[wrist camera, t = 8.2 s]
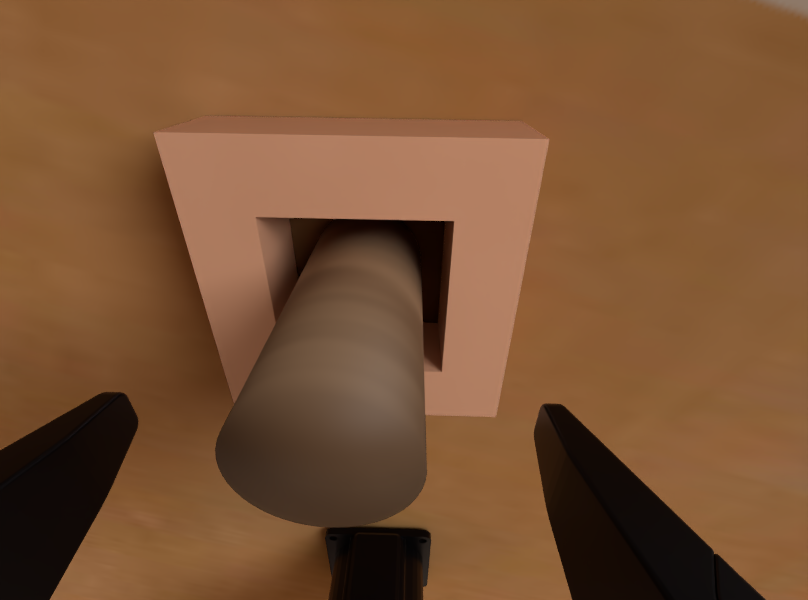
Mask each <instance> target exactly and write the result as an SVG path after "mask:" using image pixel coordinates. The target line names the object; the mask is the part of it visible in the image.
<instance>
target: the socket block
mask: <svg viewBox="0 0 808 600" xmlns="http://www.w3.org/2000/svg"><path fill="white" fill-rule="evenodd" d="M153 133H154V136H155V140H156V143H157V147H158V150H159V153H160V157H161V160H162V163H163V167H164V170H165V173H166V177H167V180H168V184H169V187H170V190H171V194H172V197H173V200H174V204H175V207H176V211H177V214H178V217H179V221H180V224H181V227H182V231H183V234H184V237H185V241H186V244H187V248H188V251H189V254H190V258H191V261H192V264H193V268H194V271H195V275H196V278H197V281H198V285H199V288H200V291H201V295H202V298H203V302H204V305H205V308H206V312H207V315H208V318H209V322H210V325H211V328H212V332H213V335H214V339H215V342H216V345H217V349H218V352H219V355H220V359H221V362H222V366H223V369H224V372H225V376H226V379H227V382H228V386H229V389H230V392H231V396H232V399H233V403H234V404H235V402H236V400H237V398H238V396H239V394H240V392H241V390H242V388H243V386H244V384H245V382H246V380H247V378H248V376H249V375H250V373H251V371H252V369H253V367H254V365H255V363H256V361H257V359H258V357H259V355H260V353H261V351H262V349H263V347H264V345H265V343H266V341H267V339H268V338H269V336H270V334H271V332H272V330H273V328H274V326H275V324H276V322H277V320H278V318H279V316H280V314H281V312H282V310H283V308H284V306H285V304H286V302H287V301H288V299H289V297H290V295H291V293H292V291H293V289H294V287H295V285H296V283H297V281H298V274H297V268H296V261H295V254H294V247H293V240H292V233H291V226H290V219H289V218H327V219H377V220H426V221H445V228H444V242H443V256H442V271H441V285H440V299H439V314H438V323H423V349H424V386H425V415H445V416H482V417H496V414H497V409H498V404H499V399H500V393H501V388H502V383H503V378H504V373H505V367H506V362H507V357H508V352H509V347H510V341H511V336H512V331H513V326H514V321H515V315H516V310H517V305H518V300H519V295H520V289H521V284H522V279H523V274H524V269H525V263H526V258H527V253H528V248H529V243H530V237H531V232H532V227H533V222H534V217H535V211H536V206H537V201H538V196H539V190H540V185H541V180H542V175H543V170H544V164H545V159H546V154H547V149H548V144H549V139H548V138H547V137H545V136H544V135H542V134H541V133H539V132H538V131H536V130H535V129H533V128H532V127H530V126H529V125H527V124H526V123H524V122H523V121H486V120H427V119H368V118H309V117H251V116H203V117H200V118H197V119H194V120H190V121H187V122H184V123H181V124H178V125H174V126H171V127H168V128H165V129H162V130H159V131H155V132H153Z"/></svg>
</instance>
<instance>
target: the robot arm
mask: <svg viewBox="0 0 808 600" xmlns="http://www.w3.org/2000/svg"><path fill="white" fill-rule="evenodd" d="M137 428H138V417H137V415H136V413H135V411H134V409H133V407H132V405H131V403H130V401H129V399H128V397H127V395H126V394H124V393H121V392H104V393H101V394H99V395H97V396H95V397H93V398H92V399H90V400H88V401H86V402H85V403H83V404H81V405H79V406H78V407H76V408H74V409H72V410H70V411H69V412H67V413H65V414H63V415H62V416H60V417H58V418H56V419H55V420H53V421H51V422H49V423H48V424H46V425H44V426H42V427H41V428H39V429H37V430H35V431H34V432H32V433H30V434H28V435H26V436H25V437H23V438H21V439H19V440H18V441H16V442H14V443H12V444H11V445H9V446H7V447H5V448H4V449H2V450H0V600H50V598H51V596H52V594H53V593H54V591H55V589H56V587H57V585H58V584H59V582H60V580H61V578H62V577H63V575H64V573H65V571H66V569H67V568H68V566H69V564H70V562H71V561H72V559H73V557H74V555H75V553H76V552H77V550H78V548H79V546H80V544H81V543H82V541H83V539H84V537H85V536H86V534H87V532H88V530H89V528H90V527H91V525H92V523H93V521H94V520H95V518H96V516H97V514H98V512H99V511H100V509H101V507H102V505H103V503H104V501H105V499H106V498H107V495H108V493H109V491H110V489H111V487H112V485H113V483H114V480H115V478H116V476H117V474H118V471H119V469H120V467H121V465H122V462H123V460H124V458H125V456H126V453H127V451H128V449H129V446H130V444H131V442H132V440H133V437H134V435H135V433H136V431H137ZM534 441H535V447H536V452H537V458H538V464H539V469H540V475H541V481H542V487H543V492H544V498H545V503H546V508H547V513H548V516H549V520H550V524H551V527H552V531H553V534H554V538H555V541H556V545H557V548H558V552H559V555H560V559H561V562H562V565H563V569H564V572H565V576H566V579H567V583H568V586H569V590H570V593H571V597H572V600H766V599H765V598H763V597H762V596H761V595H760V594H759V593H758V592H757V591H756V590H755V589H754V588H753V587H752V586H751V585H750V584H748V583H747V582H746V581H745V580H744V579H743V578H742V577H741V576H740V575H739V574H738V573H737V572H736V571H735V570H734V569H733V568H732V567H731V566H730V565H728V564H727V563H726V562H725V561H724V560H723V559H722V558H721V557H720V556H719V555H718V554H714V551H713V549H712V548H711V547H710V546H709V545H708V544H706V543H705V542H704V541H703V540H702V539H701V538H700V537H699V536H698V535H697V534H696V533H695V532H694V531H693V530H692V529H691V528H690V527H689V526H688V525H687V524H686V523H685V522H684V521H683V520H682V519H681V518H680V517H679V516H677V515H676V514H675V513H674V512H673V511H672V510H671V509H670V508H669V507H668V506H667V505H666V504H665V503H664V502H663V501H662V500H661V499H660V498H659V497H658V496H657V495H656V494H655V493H654V492H653V491H652V490H651V489H650V488H648V487H647V486H646V485H645V484H644V483H643V482H642V481H641V480H640V479H639V478H638V477H637V476H636V475H635V474H634V473H633V472H632V471H631V470H630V469H629V468H628V467H627V466H626V465H625V464H624V463H623V462H622V461H620V460H619V459H618V458H617V457H616V456H615V455H614V454H613V453H612V452H611V451H610V450H609V449H608V448H607V447H606V446H605V445H604V444H603V443H602V442H601V441H600V440H599V439H598V438H597V437H596V436H595V435H594V434H593V433H591V432H590V431H589V430H588V429H587V428H586V427H585V426H584V425H583V424H582V423H581V422H580V421H579V420H578V419H577V418H576V417H575V416H574V415H573V414H572V413H571V412H570V411H569V410H568V409H567V408H566V407H564V406H563V405H561V404H543V405H542V406H541V407H540V410H539V414H538V418H537V422H536V425H535V429H534ZM325 539H326V545H327V551H328V557H329V563H330V569H331V575H332V581H331V588H330V594H329V600H423V587H424V586H426V585H427V579H428V567H429V556H430V545H431V534H430V532H428V531H426V530H403V529H370V528H337V527H333V528H328V529H327V532H326V537H325Z"/></svg>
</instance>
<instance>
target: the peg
mask: <svg viewBox="0 0 808 600" xmlns="http://www.w3.org/2000/svg"><path fill="white" fill-rule="evenodd" d="M215 452H216V460H217V464H218V467H219V470H220V472H221V474H222V476H223V477H224V479H225V480H226V482H227V483H228V484H229V485H230V486H231V488H232V489H233V490H234V491H235V492H236V493H237V494H239V495H240V496H241V497H242V498H243V499H245V500H246V501H248V502H249V503H250V504H252V505H254V506H255V507H257V508H259V509H261V510H263V511H265V512H267V513H269V514H271V515H274V516H276V517H279V518H282V519H285V520H288V521H292V522H295V523H300V524H305V525H311V526H318V527H354V526H361V525H366V524H370V523H375V522H378V521H381V520H384V519H387V518H389V517H391V516H393V515H395V514H397V513H399V512H400V511H402V510H403V509H405V508H406V507H407V506H409V505H410V504H411V503H412V502H413V501H414V500H415V499H416V498H417V496H418V495H419V493H420V492H421V490H422V488H423V486H424V483H425V480H426V475H427V462H426V424H425V386H424V349H423V311H422V273H421V253H420V248H419V245H418V243H417V241H416V239H415V237H414V235H413V234H412V232H411V231H410V230H409V229H408V228H407V227H406V226H405V225H404V224H403V223H402V222H401V221H399V220H377V219H335V220H334V221H332V222H331V223H330V224H329V225H328V226H327V227H326V229H325V230H324V231H323V233H322V235H321V236H320V238H319V240H318V242H317V244H316V246H315V248H314V250H313V252H312V254H311V256H310V258H309V260H308V262H307V264H306V265H305V267H304V269H303V271H302V273H301V275H300V277H299V279H298V281H297V283H296V285H295V287H294V289H293V291H292V293H291V295H290V297H289V299H288V301H287V302H286V304H285V306H284V308H283V310H282V312H281V314H280V316H279V318H278V320H277V322H276V324H275V326H274V328H273V330H272V332H271V334H270V336H269V338H268V339H267V341H266V343H265V345H264V347H263V349H262V351H261V353H260V355H259V357H258V359H257V361H256V363H255V365H254V367H253V369H252V371H251V373H250V375H249V376H248V378H247V380H246V382H245V384H244V386H243V388H242V390H241V392H240V394H239V396H238V398H237V400H236V402H235V404H234V406H233V408H232V410H231V412H230V413H229V415H228V417H227V419H226V421H225V423H224V425H223V427H222V429H221V431H220V433H219V436H218V438H217V442H216V448H215Z"/></svg>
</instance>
